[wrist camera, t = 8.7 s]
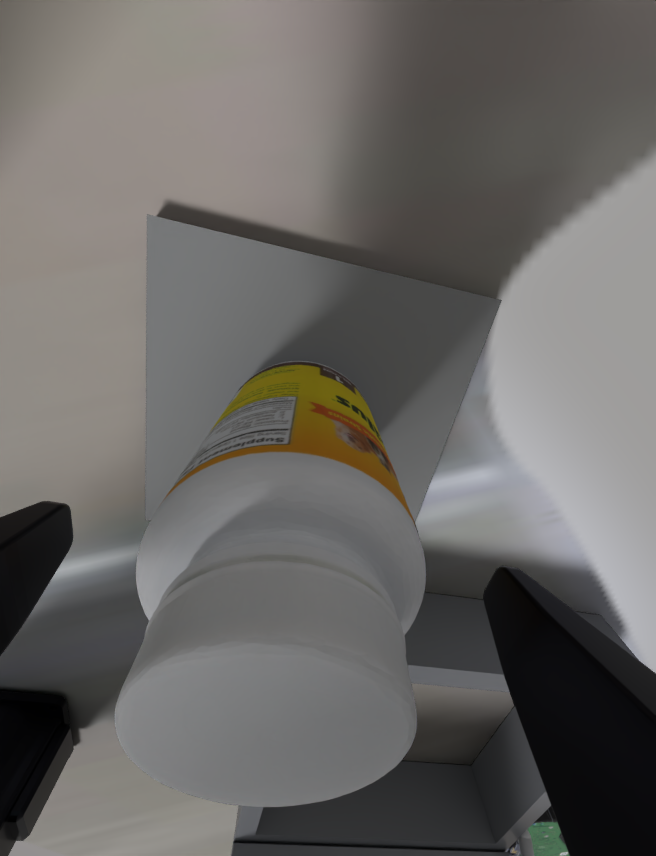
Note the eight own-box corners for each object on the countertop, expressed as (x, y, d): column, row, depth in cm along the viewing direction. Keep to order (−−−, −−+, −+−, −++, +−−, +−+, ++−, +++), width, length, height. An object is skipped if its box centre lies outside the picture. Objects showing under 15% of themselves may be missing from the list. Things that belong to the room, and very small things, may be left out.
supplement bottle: (385, 462, 15) (506, 798, 5) (263, 498, 15) (178, 858, 6) (348, 334, 12) (440, 526, 3) (206, 382, 13) (-79, 666, 4)
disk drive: (680, 761, 29) (507, 777, 29) (716, 809, 27) (527, 827, 26) (641, 817, 33) (489, 832, 33) (668, 862, 31) (505, 879, 30)
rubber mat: (151, 511, 16) (145, 520, 15) (155, 217, 11) (147, 214, 11) (398, 547, 17) (400, 556, 17) (493, 298, 13) (501, 300, 12)
